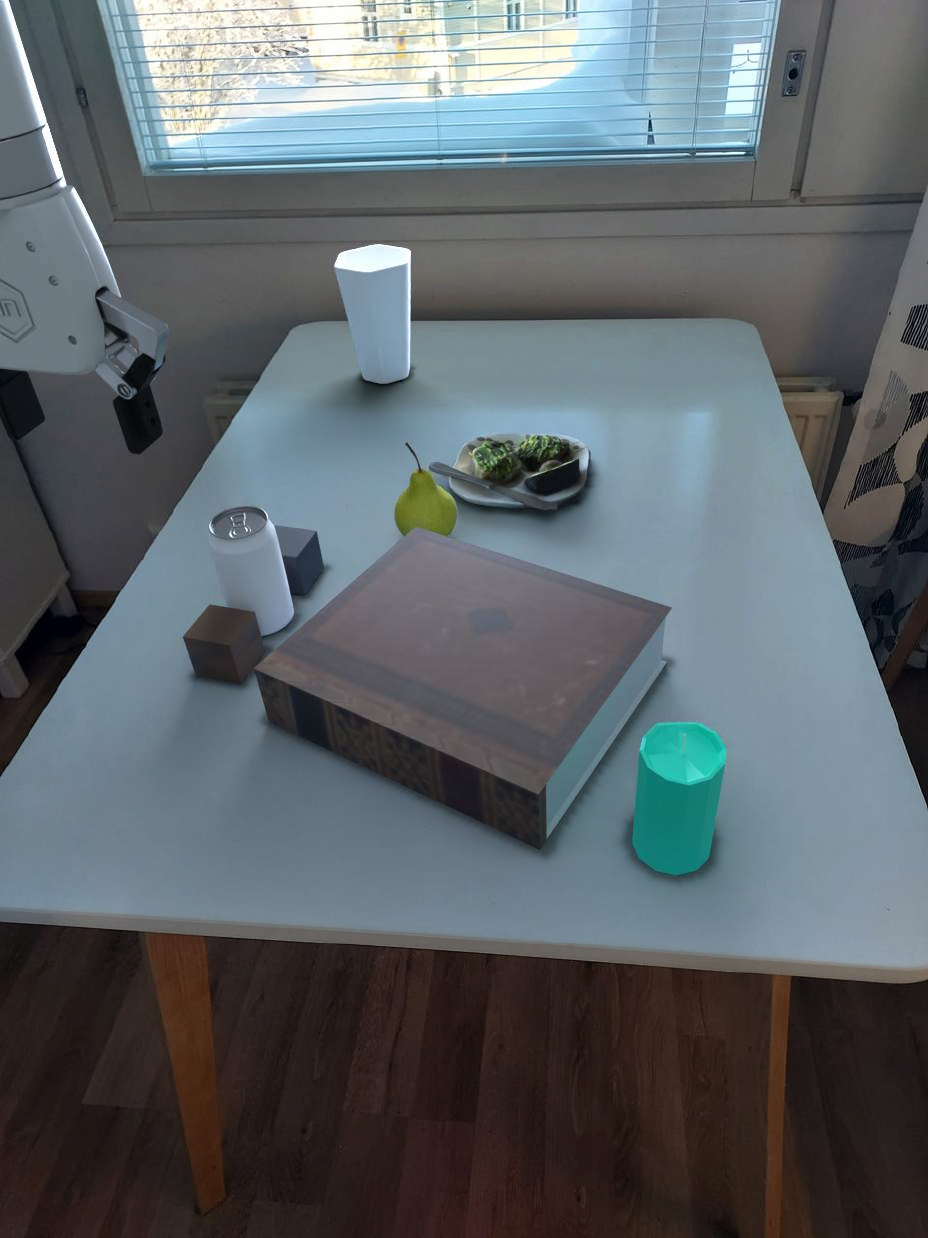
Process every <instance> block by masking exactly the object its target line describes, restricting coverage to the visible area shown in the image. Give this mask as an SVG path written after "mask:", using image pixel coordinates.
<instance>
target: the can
mask: <svg viewBox="0 0 928 1238" xmlns="http://www.w3.org/2000/svg"><path fill="white" fill-rule="evenodd" d="M274 526H275V525H274V524H273V522H272V521H271V520H270V519H269V516H268V513H267V512H266V510H264V509H263V508H261V507H258V506H254V505H237V506H233V507H229V508H226V509H224V510H222V511H220V512H218V513H216V514H215V515H214V516H213V517H212V518H211V519H210V520H209V523H208V530H209V534H208V539H207V540H208V546H209V551H210V555H211V558H212V562H213V565H214V569H215V572H216V576H217V579H218V582H219V586H220V590H221V594H222V596H223V600H224V604H225V607H229V608H235V609H241V610H247V611H253V612H255V614H256V618H257V621H258V625H259V629H260V633H261V636H262V638H264V637H267V636H270V635H274V634H276V633H279V632H281V631H282V630H283V629H284V628H286V627H287V626H288V625H289V623H290V622H291V621H292V619H293V617H294V614H295V609H294V604H293V599H292V595H291V594H292V593H290V590H289V585H288V581H287V577H286V572H285V568H284V564H283V559H282V555H281V551H280V546H279V542H278V538H277V534H276V530H275V527H274Z"/></svg>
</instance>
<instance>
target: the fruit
mask: <svg viewBox="0 0 928 1238" xmlns="http://www.w3.org/2000/svg"><path fill="white" fill-rule="evenodd" d="M404 445H405V447H407V448H408V450H409V451H410V453H411V454H412V456H413V457H414V458H415V461H416V464H417V468H416V469H415V470H414V471H412V473H411V474H410V478H409V484H408V486H407V488H405V490H404V491H403V492H402V493H401V494H400V496H399V497H398V498H397V500H396V502H395V506H394V515H393V517H394V522H395V525H396V528H397V529H398V531H399V532H400V534H401V535H402V536H403V537H404V536H406V535H407V534H408V533H409V532H410V531H411V530H412V529H414V528H415V527H418V528H422V529H425V530H428V531H431V532H434V533H437V534H441V535H444V536H447V537H450V535H451V534H452V532H453V530H454V528H455V525H456V522H457V518H458V509H457V503H456V500H455V498H454V497H453V496H452V495H451V494H450V492H448V491H447V490H445V489H444V488H442V487H441V486H439V485H438V484H437V483H436V481H435V477H434V476H433V473H432V472H431V471H430V470H429V469H425V468H422V467H421V464H420V461H419V459H418V458H419V457H418V456H417V454H416V452H415V451H414V449H413V448H412V447H411V445H410V444H409V442H408V441H406V442H405V443H404Z"/></svg>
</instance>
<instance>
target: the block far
mask: <svg viewBox="0 0 928 1238" xmlns="http://www.w3.org/2000/svg"><path fill="white" fill-rule="evenodd" d="M274 527H275V530H276V534H277V538H278V542H279V546H280V551H281V555H282V559H283V564H284V568H285V572H286V577H287V581H288V585H289V590H290V594H293V595H300V596H306V594H307V593H308V592H309V590H310V589H311V587H312V586H313V585H314V583H316V581H317V580H318V578H319V576H320V575H321V574H322V572H323V571H324V569H325V565H324V562H323V561H324V560H323V554H322V551H321V545H320V544H321V543H320V540H319V535H318V531H317V530H315V529H306V528H299V527H293V526H292V527H291V526H285V525H277V524H275V525H274Z"/></svg>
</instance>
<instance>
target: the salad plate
mask: <svg viewBox="0 0 928 1238" xmlns="http://www.w3.org/2000/svg"><path fill="white" fill-rule="evenodd" d="M591 454H592V453H591V450H590V449H589V447H588V445H587V444H585V443H584V442H583V441H581V440H579V439H577V438H575V437H573V436H570V435H566V434H556V433H553V434H552V433H551V434H549V433H548V434H547V433H546V434H545V433H542V434H541V433H533V434H530V433H516V432H513V433H512V432H493V433H491V432H490V433H486V434H482V435H479V436H476V437H474V438H471V439H470V440H468V441H467V442H466V443H464V445H462V447H461V448H460V450H459V452H458V455H457V457H456V460H455V462H454V464H453V465H452V466H450V465H448V464H445V463H444V462H441V461H433V462H431V463H429V465H428V467H427V468H428V471H429V472H430V473H434V474H435V475H438V476H440V477H442V478H444V479H445V480H446V481H447V482H448V485H449V488H450V490H451V491H452V492H453V493H454V494H456V495H457V496H458V497H460V498H461V499H462V500H463V501H465V502H468V503H472V504H476V505H480V506H485V507H494V508H495V507H497V508H507V509H515V510H522V511H529V512H531V511H533V512H534V511H535V512H541V511H542V512H547V511H548V512H549V511H554V510H558V509H563V508H564V507H566V506H568V505H571V504H572V503H573V502H575V501H576V500H577V499H578V498H579V497H580V495H581V493H582V492H583V490H584V488H585V485H586V483H587V482H588V474H589V469H590V466H591V462H592V459H591Z"/></svg>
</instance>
